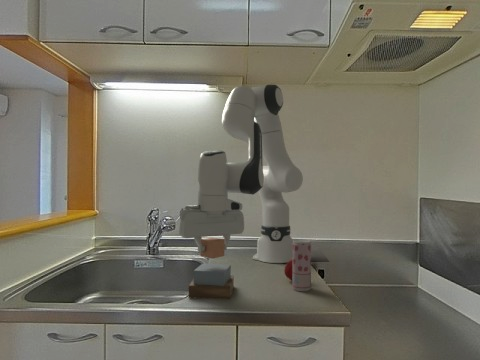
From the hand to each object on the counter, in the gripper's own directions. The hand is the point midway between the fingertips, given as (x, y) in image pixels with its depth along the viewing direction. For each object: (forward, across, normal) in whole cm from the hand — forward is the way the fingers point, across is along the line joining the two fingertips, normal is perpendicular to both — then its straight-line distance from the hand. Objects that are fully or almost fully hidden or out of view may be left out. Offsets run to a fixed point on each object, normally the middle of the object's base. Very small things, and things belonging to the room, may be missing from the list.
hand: (212, 250), depth 118 cm
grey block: (+9, 0, 0) cm, 9 cm away
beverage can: (+13, +26, -10) cm, 31 cm away
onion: (+13, +29, -3) cm, 31 cm away
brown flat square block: (+13, 0, +1) cm, 13 cm away
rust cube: (+2, 0, 0) cm, 2 cm away
